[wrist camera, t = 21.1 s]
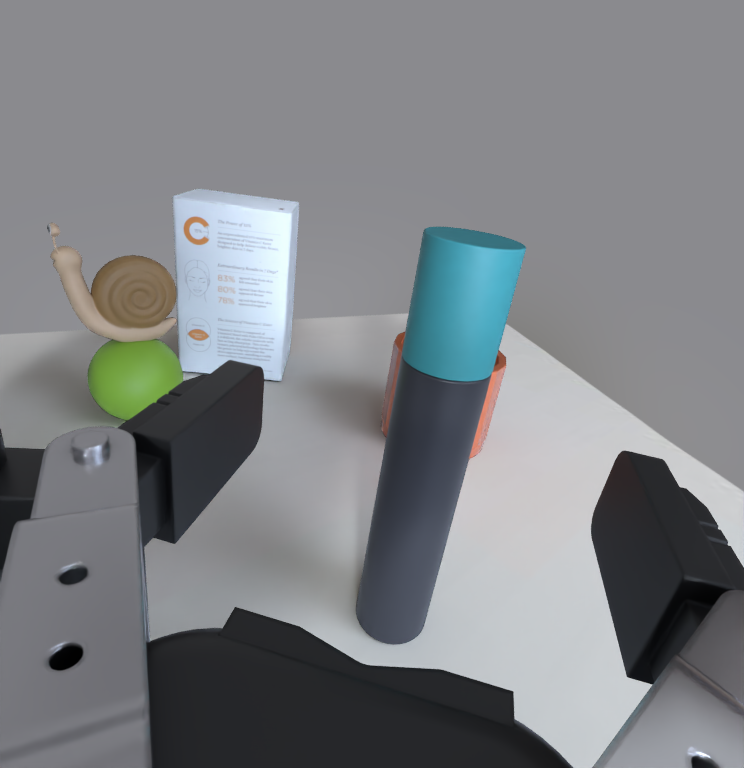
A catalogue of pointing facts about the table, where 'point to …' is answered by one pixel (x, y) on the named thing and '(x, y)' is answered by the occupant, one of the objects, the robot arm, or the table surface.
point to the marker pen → (434, 420)
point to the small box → (234, 279)
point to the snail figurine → (124, 327)
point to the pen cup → (487, 407)
